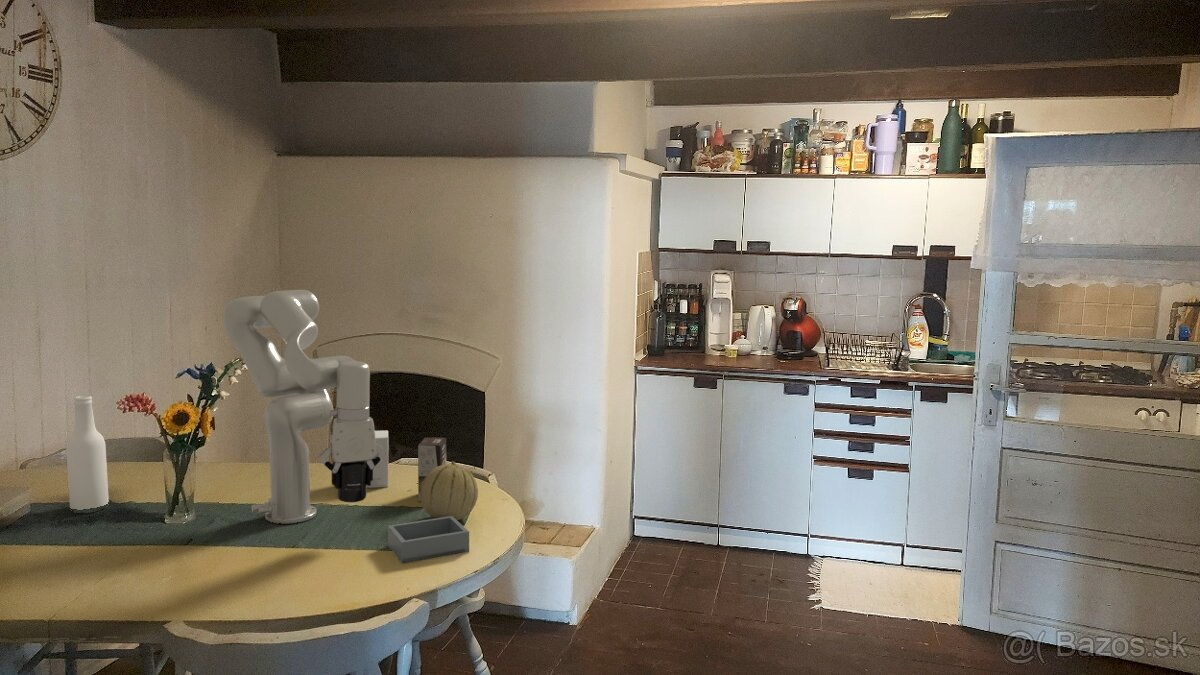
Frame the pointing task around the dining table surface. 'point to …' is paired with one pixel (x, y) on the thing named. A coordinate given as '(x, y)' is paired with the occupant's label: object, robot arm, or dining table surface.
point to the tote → (428, 539)
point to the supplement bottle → (352, 481)
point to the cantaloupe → (449, 492)
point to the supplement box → (381, 462)
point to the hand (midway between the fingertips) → (352, 485)
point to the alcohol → (86, 460)
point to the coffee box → (430, 457)
